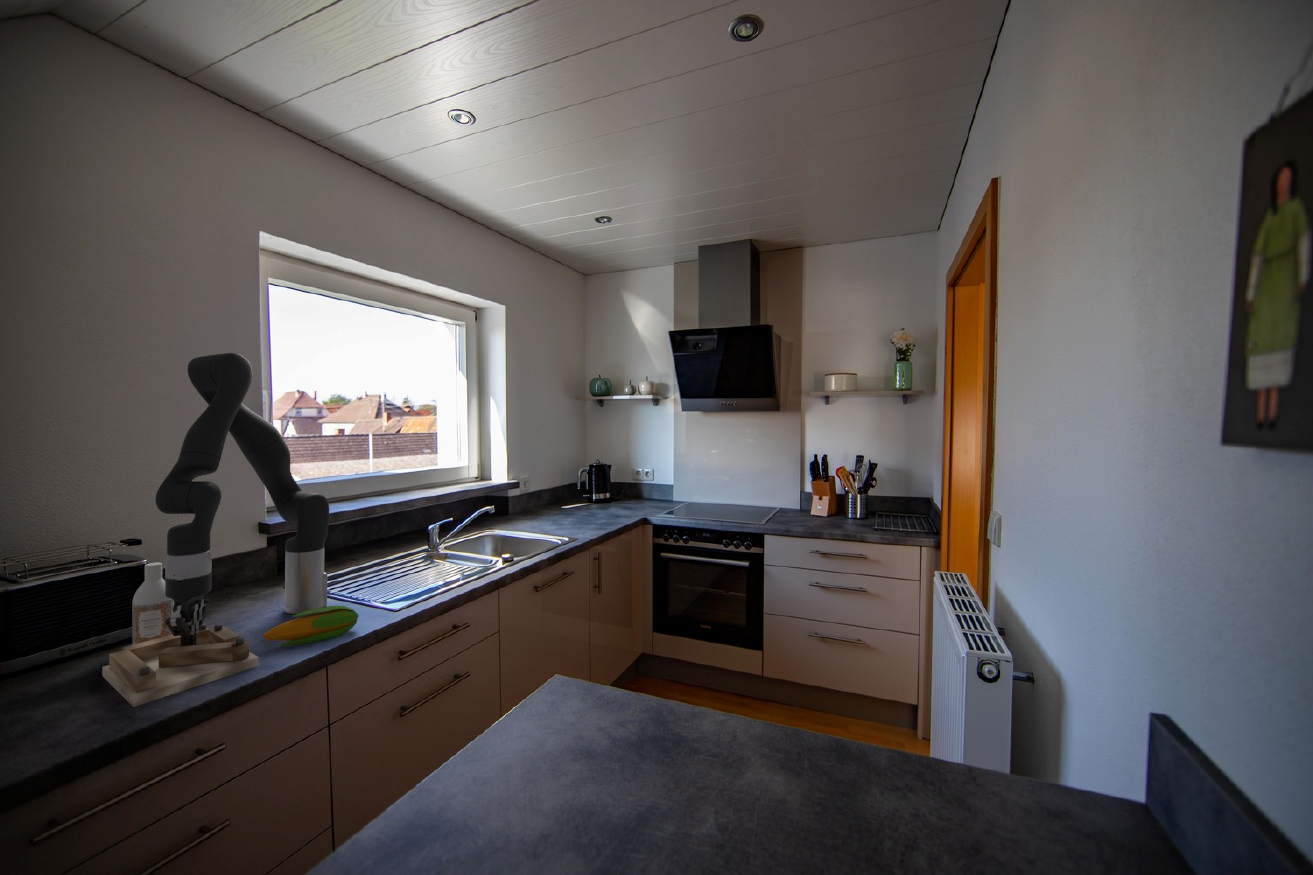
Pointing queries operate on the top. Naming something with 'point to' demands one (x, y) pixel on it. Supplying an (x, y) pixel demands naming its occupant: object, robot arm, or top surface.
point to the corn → (314, 626)
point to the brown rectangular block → (204, 653)
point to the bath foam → (151, 607)
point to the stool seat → (147, 682)
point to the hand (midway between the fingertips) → (188, 650)
